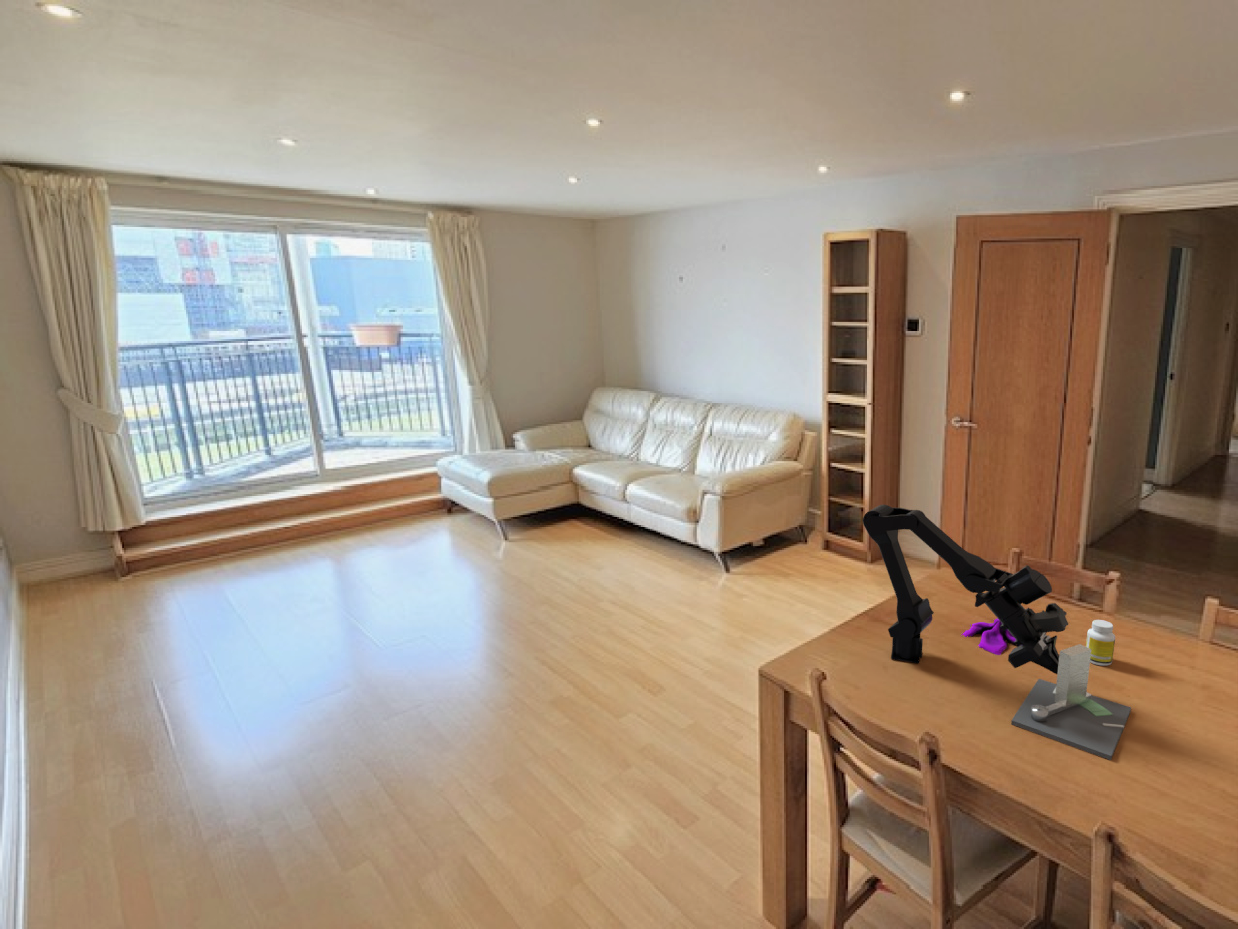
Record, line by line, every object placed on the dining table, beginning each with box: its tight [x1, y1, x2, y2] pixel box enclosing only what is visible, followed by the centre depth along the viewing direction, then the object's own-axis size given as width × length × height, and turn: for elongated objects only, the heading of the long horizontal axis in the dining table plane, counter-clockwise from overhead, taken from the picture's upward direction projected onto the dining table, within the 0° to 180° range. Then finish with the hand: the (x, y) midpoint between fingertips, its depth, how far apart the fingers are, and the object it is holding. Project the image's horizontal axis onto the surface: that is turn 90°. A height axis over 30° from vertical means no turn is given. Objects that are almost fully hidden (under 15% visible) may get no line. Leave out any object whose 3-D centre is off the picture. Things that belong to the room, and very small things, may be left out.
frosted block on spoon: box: [1031, 643, 1092, 722], centre depth 137 cm, size 16×3×13 cm, turn 110°
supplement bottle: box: [1085, 619, 1116, 667], centre depth 156 cm, size 5×5×10 cm
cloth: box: [961, 617, 1016, 656], centre depth 170 cm, size 22×19×6 cm
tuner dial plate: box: [1010, 678, 1132, 761], centre depth 137 cm, size 20×17×1 cm
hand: (1065, 675), depth 139 cm, fingers closed
